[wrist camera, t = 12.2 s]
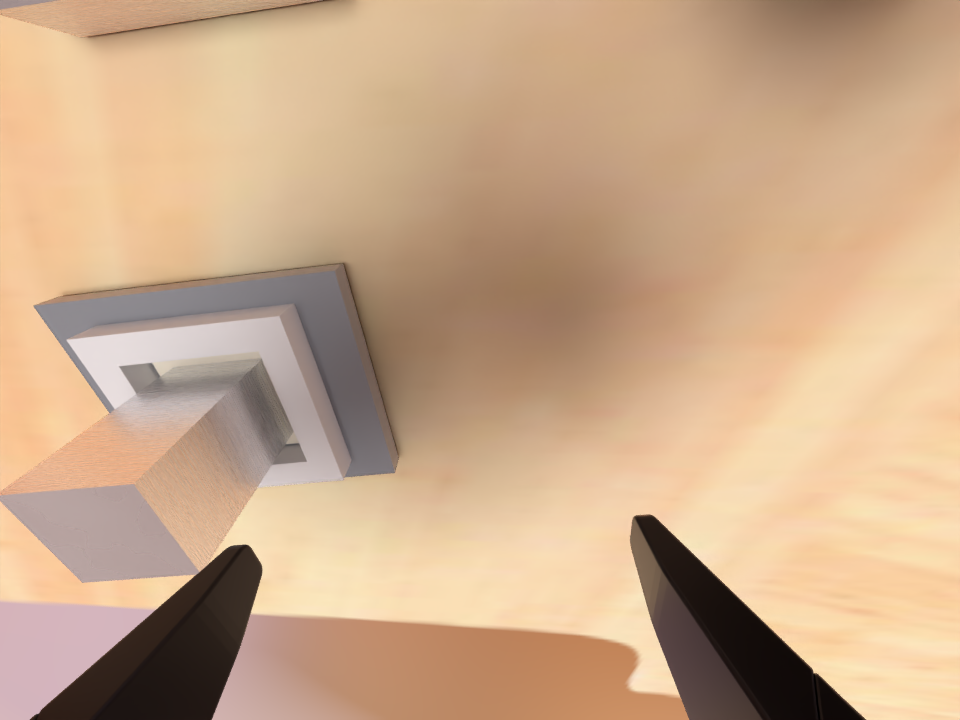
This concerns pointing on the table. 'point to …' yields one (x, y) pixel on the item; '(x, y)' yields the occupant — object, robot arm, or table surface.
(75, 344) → the grey slotted socket base
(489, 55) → the table surface
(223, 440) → the block
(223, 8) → the square peg board
